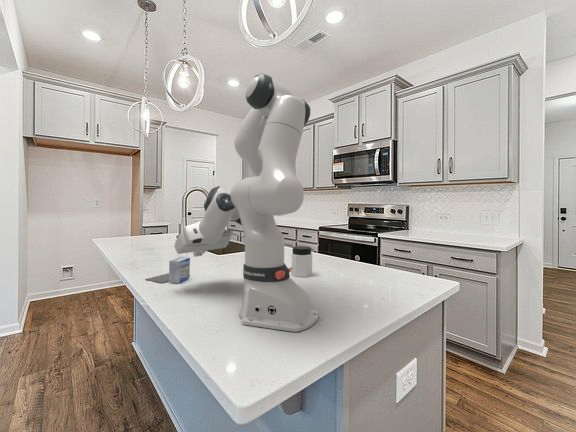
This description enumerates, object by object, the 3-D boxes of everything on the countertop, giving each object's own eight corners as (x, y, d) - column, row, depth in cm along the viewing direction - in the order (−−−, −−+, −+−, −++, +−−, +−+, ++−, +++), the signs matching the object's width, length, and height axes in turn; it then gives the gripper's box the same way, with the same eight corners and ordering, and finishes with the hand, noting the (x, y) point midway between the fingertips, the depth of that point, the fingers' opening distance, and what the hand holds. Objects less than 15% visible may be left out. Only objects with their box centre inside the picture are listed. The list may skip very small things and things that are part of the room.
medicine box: (178, 283, 114) (179, 261, 113) (168, 282, 115) (169, 260, 114) (189, 278, 121) (190, 257, 121) (179, 276, 122) (180, 256, 122)
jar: (300, 271, 135) (300, 245, 134) (315, 274, 130) (315, 247, 129) (287, 275, 128) (288, 247, 127) (303, 278, 123) (303, 249, 122)
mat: (190, 275, 126) (190, 274, 126) (162, 283, 114) (162, 282, 114) (173, 272, 131) (173, 271, 131) (145, 280, 119) (145, 279, 119)
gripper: (231, 223, 115) (218, 245, 122) (179, 226, 101) (168, 251, 108) (237, 235, 112) (224, 257, 119) (185, 241, 98) (173, 265, 105)
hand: (197, 254), depth 114 cm, fingers closed
